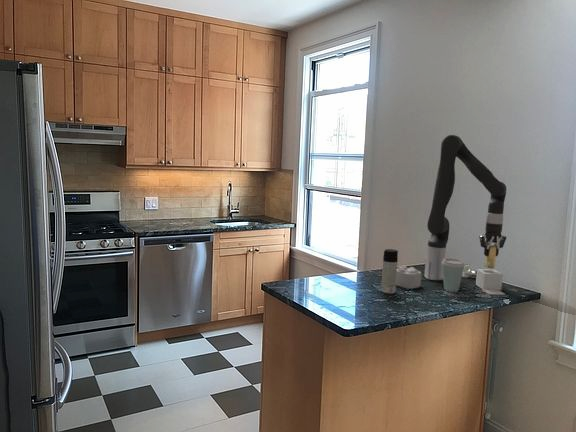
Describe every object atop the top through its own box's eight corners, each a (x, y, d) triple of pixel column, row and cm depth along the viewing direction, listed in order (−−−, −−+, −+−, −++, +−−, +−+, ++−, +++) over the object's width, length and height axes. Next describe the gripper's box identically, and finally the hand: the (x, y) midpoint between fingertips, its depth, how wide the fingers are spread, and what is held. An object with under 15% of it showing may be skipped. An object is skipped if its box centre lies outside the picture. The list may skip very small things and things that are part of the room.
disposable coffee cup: (466, 290, 232) (468, 260, 230) (456, 294, 224) (459, 263, 222) (445, 285, 239) (447, 256, 237) (435, 289, 231) (438, 259, 229)
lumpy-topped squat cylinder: (409, 289, 231) (410, 271, 230) (388, 282, 241) (390, 266, 240) (423, 286, 237) (424, 269, 236) (402, 280, 248) (403, 263, 246)
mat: (488, 294, 227) (488, 293, 227) (482, 290, 234) (482, 289, 233) (505, 295, 227) (505, 294, 227) (498, 290, 234) (498, 290, 234)
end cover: (488, 268, 236) (490, 246, 234) (483, 266, 240) (485, 244, 239) (496, 268, 237) (498, 246, 235) (491, 266, 241) (493, 244, 239)
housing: (483, 289, 235) (484, 273, 234) (475, 284, 244) (477, 269, 243) (501, 290, 235) (502, 274, 234) (493, 285, 244) (494, 269, 243)
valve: (457, 276, 260) (475, 281, 250) (458, 264, 259) (476, 269, 249) (466, 275, 263) (484, 280, 253) (467, 263, 262) (485, 268, 252)
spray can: (396, 291, 227) (399, 249, 224) (393, 294, 221) (396, 252, 218) (383, 289, 230) (385, 248, 227) (379, 292, 224) (382, 250, 221)
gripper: (502, 221, 240) (498, 254, 243) (477, 220, 237) (473, 254, 240) (512, 223, 233) (508, 257, 235) (486, 223, 230) (482, 257, 233)
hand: (490, 255), depth 238 cm, fingers closed on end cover, 4 cm apart
